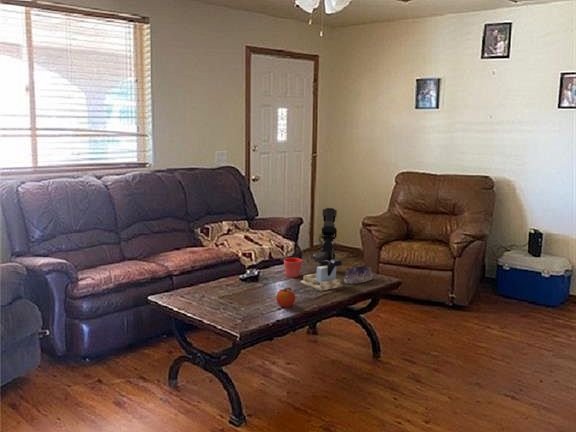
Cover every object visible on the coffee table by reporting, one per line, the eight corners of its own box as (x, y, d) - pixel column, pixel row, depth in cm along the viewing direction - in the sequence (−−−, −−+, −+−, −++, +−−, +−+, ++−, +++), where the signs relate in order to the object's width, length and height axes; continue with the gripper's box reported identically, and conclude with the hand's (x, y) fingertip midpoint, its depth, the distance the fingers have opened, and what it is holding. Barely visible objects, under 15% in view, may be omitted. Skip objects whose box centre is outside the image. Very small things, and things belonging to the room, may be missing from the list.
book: (331, 277, 337) (331, 264, 335) (335, 279, 334) (336, 265, 332) (316, 280, 330) (316, 266, 329) (320, 282, 327) (321, 268, 326)
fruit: (286, 301, 303) (286, 282, 301) (298, 306, 296) (299, 287, 294) (271, 305, 297) (272, 285, 295) (284, 310, 290) (285, 290, 288)
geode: (356, 287, 333) (354, 269, 332) (339, 285, 341) (338, 268, 340) (376, 279, 348) (375, 262, 347) (360, 277, 356) (359, 261, 354)
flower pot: (280, 277, 346) (281, 260, 344) (286, 272, 357) (286, 256, 355) (298, 279, 343) (298, 263, 341) (303, 274, 354) (304, 258, 352)
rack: (322, 278, 347) (322, 271, 346) (342, 286, 333) (343, 279, 332) (300, 282, 337) (300, 275, 337) (321, 290, 323) (321, 283, 323)
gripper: (305, 245, 331) (304, 272, 334) (327, 252, 316) (326, 281, 319) (321, 243, 338) (319, 269, 340) (343, 250, 323) (341, 278, 326)
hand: (326, 274), depth 331 cm, fingers closed on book, 4 cm apart
